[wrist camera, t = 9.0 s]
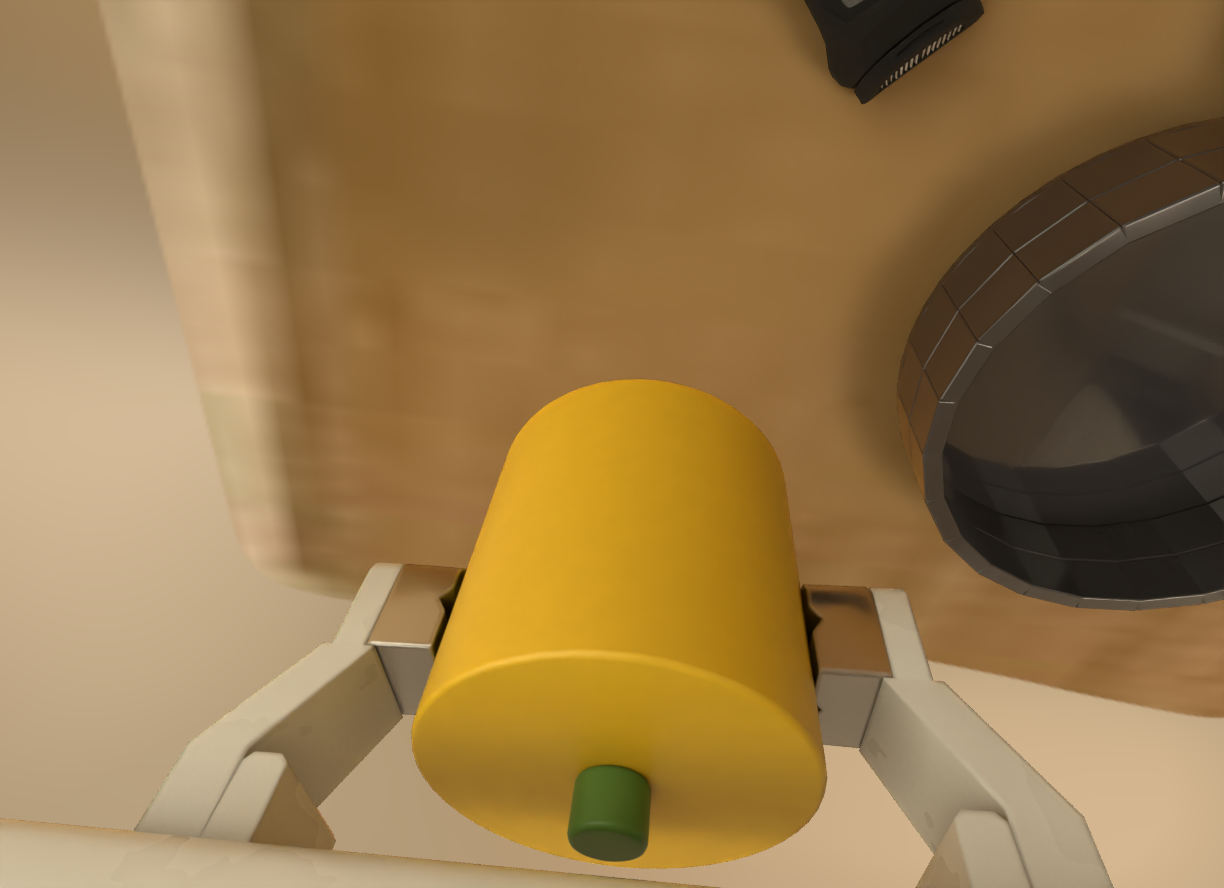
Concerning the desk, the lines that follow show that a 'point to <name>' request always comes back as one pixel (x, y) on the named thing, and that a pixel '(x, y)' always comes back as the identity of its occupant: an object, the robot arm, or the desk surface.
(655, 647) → the yellow pepper
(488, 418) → the desk surface
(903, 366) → the pan
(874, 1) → the electric trimmer
